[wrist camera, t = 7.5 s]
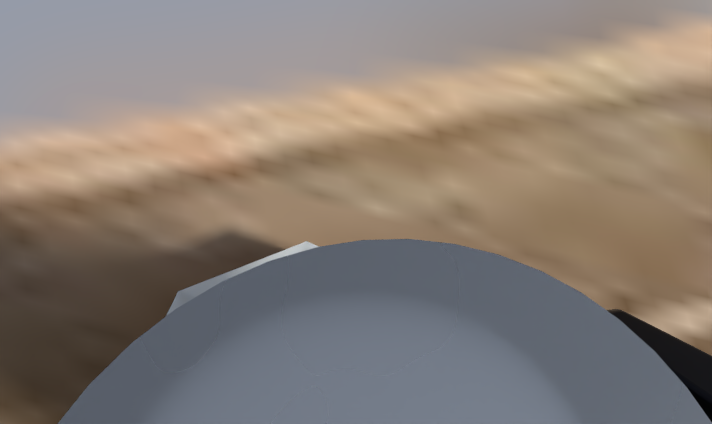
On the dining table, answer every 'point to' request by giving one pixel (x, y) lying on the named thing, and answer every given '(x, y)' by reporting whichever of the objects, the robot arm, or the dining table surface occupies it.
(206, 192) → the dining table surface
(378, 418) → the canister
